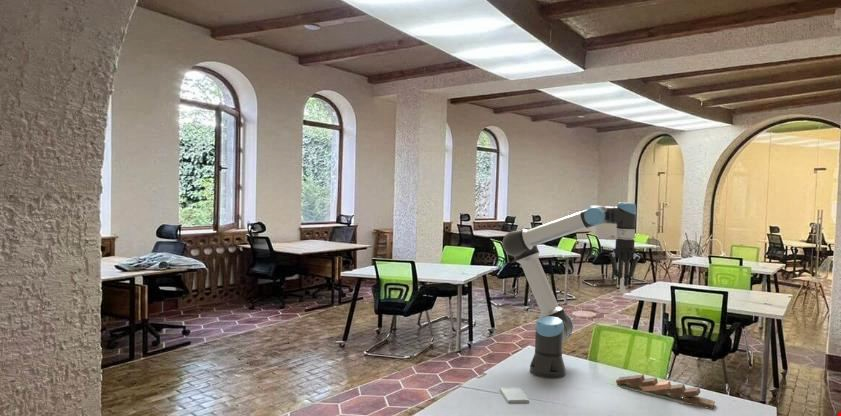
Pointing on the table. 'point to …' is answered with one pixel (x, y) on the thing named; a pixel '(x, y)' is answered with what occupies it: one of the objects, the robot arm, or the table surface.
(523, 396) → the hard drive
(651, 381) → the domino
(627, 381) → the domino
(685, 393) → the domino
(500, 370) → the table surface
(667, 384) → the domino
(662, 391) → the domino
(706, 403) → the domino
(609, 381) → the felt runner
